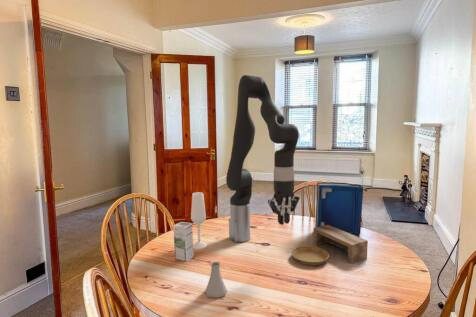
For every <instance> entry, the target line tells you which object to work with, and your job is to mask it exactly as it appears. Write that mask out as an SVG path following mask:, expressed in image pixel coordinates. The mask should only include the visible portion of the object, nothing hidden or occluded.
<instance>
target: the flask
mask: <svg viewBox="0 0 476 317" xmlns="http://www.w3.org/2000/svg"><path fill="white" fill-rule="evenodd" d="M210 267H211V270H210V275H209V279H208V282H207V285H206V287H205V291H204V294H205V295H206V297H207V298H210V299H211V298H213V299H219V298H223V297H225V296H226V295H227V292H228V290H227V287H226V286H225V283H224V281H223V277H222V274H221V270H220V267H221V262H219V261H212V262H211V263H210Z"/></svg>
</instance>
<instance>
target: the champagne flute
mask: <svg viewBox="0 0 476 317" xmlns="http://www.w3.org/2000/svg"><path fill="white" fill-rule="evenodd" d="M191 195H192V196H191V209H190V210H191V211H190V212H191V213H190V219H191V221H192V223H193V224H195V225H196V226H197V242H195V243H193V249H197V250H198V249H200V250H201V249H204V248H206V247H207V246H208V245H207V244H206V243H205V242H203V241H201V225H202V224H203V223H205V220H206V219H207V214H206V213H207V212H206V206H205V196H204V192H201V191H200V192H199V191H198V192H197V191H196V192H193V193H192V194H191Z"/></svg>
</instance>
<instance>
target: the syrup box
mask: <svg viewBox="0 0 476 317" xmlns="http://www.w3.org/2000/svg"><path fill="white" fill-rule="evenodd" d="M193 235H194V232H193V222H186V221H185V222H184V221H180V222H178V223H177V222H176V224H174V225H173V244H174V260H178V261H181V262H188V261H189V260H191V259H192V258H193V257H194V248H193V244H194V237H193Z"/></svg>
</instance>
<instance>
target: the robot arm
mask: <svg viewBox="0 0 476 317" xmlns="http://www.w3.org/2000/svg"><path fill="white" fill-rule="evenodd" d="M237 88H238V89H237V105H236V106H237V109H236V117H235V123H234V130H233V136H232V137H233V138H232V148H231V154H230V160H229V163H228V169H227V172H226V177H225V180H226V181H225V183H226V186H227V187H228V189H229V190H231V191H234V193H233V195H231V196H230V198H229V199H230V200H229V204H230V205H229V206H230V207H229V208H230V210H229V211H230V212H229V213H230V214H229V215H230V218H228V239H230V240H231V241H232V242H234V243H244V242H248V241H249V240H250V239H251V203H250V201H251V199H252V192H253V191H252V190H253V179H252V178H253V177H252V173H251V171H250V170H248V169H247V168H243V166H244V163H245V160H246V158H247V156H248V154H249V153H250V151H251V150H252V148H253V145H254V142H255V135H256V134H255V133H256V126H255V123H254V121H253V118H252V116H251V114H250V111H249V99H258V100H259V101H261V105H260V110H259V112H260V115H261V117H262V120H263V121H264V122H265V124H266V126H267V130H268V136H269V139H270V141H271V142H272V143H274V144H278V145H279V144H284V146H283V148H281V149H278V150H276V151H275V152H274V155H273V156H274V157H273V158H274V163H273V164H274V168H273V192H274V193H273V197H272V198H271V199H267V203H268V205H269V207H270V209H271V211H272V213H273V214H275V215H277V223H278V224H279V225H281V226H283V225H285V224H287V225H288V224H289V223H290V221H291V213H292V212H295V210H296V209H297V205H298V203H299V202H300V201H299V200H300V196H297V195H295V192H294V191H295V166H294V163H295V161H294V160H295V158H294V157H295V156H294V155H295V152H296V147H297V145H298V141H299V136H300V133H299V131H300V130H299V129H298V127H297V125H295V124H293V123H285V116H284V114H283V113H282V112H281V110H280V109H279V108H278V106H277V104H276V102H275V101H274V98H273V96H272V94H271V91H270V89H269V86H268V84H267V81H266V80H265V79H264V78H262V77H260V76H255V75H249V74H244V75H242V76H241V77H240V79H239V82H238V87H237Z"/></svg>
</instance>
